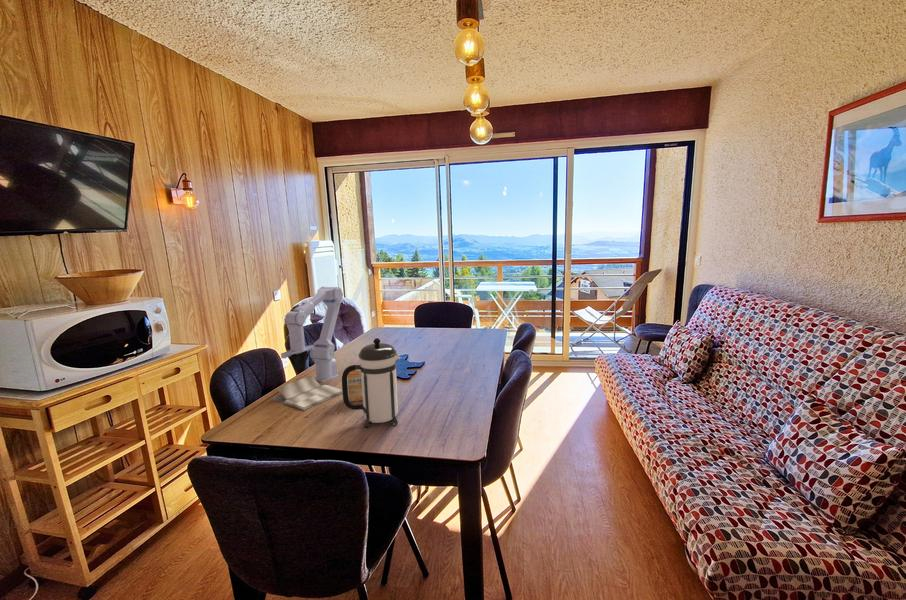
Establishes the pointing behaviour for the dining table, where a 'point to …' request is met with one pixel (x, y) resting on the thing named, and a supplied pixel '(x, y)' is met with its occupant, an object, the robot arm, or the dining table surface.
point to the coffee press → (375, 383)
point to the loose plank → (298, 387)
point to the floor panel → (310, 397)
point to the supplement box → (355, 386)
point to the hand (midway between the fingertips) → (299, 369)
